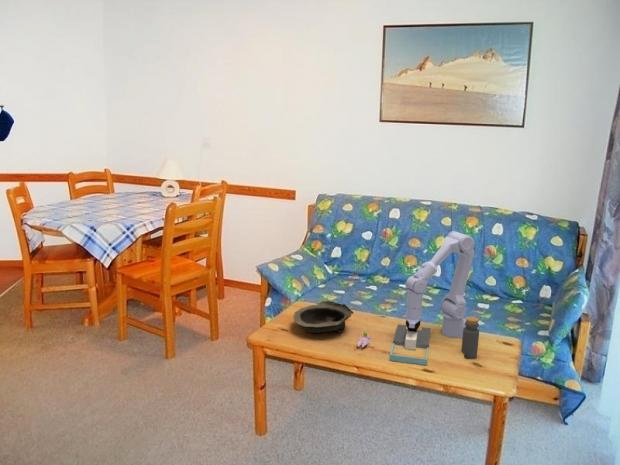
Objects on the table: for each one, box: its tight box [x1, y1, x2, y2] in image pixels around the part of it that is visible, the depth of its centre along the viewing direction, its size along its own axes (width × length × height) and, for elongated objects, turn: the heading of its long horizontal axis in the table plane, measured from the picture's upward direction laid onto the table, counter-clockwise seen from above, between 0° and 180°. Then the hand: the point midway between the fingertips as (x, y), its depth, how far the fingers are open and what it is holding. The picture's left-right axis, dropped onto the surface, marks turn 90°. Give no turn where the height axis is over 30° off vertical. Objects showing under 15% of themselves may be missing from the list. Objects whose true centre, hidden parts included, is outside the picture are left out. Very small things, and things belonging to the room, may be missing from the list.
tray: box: [389, 343, 430, 367], centre depth 207 cm, size 14×12×2 cm
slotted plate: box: [392, 323, 432, 350], centre depth 221 cm, size 14×18×3 cm
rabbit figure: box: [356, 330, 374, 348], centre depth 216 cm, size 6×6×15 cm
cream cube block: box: [407, 331, 418, 344], centre depth 216 cm, size 4×4×4 cm
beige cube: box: [404, 335, 417, 351], centre depth 212 cm, size 4×4×4 cm
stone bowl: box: [292, 300, 354, 334], centre depth 231 cm, size 25×25×9 cm
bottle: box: [461, 316, 480, 360], centre depth 208 cm, size 6×6×15 cm
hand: (412, 338), depth 219 cm, fingers closed
